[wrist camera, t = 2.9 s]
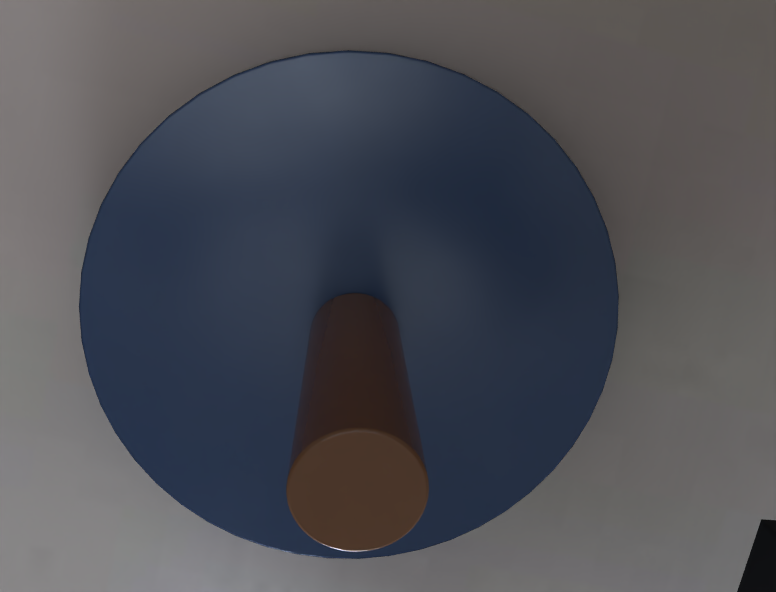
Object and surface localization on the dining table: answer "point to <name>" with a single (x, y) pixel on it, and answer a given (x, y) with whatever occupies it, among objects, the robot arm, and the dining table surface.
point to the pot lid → (348, 304)
